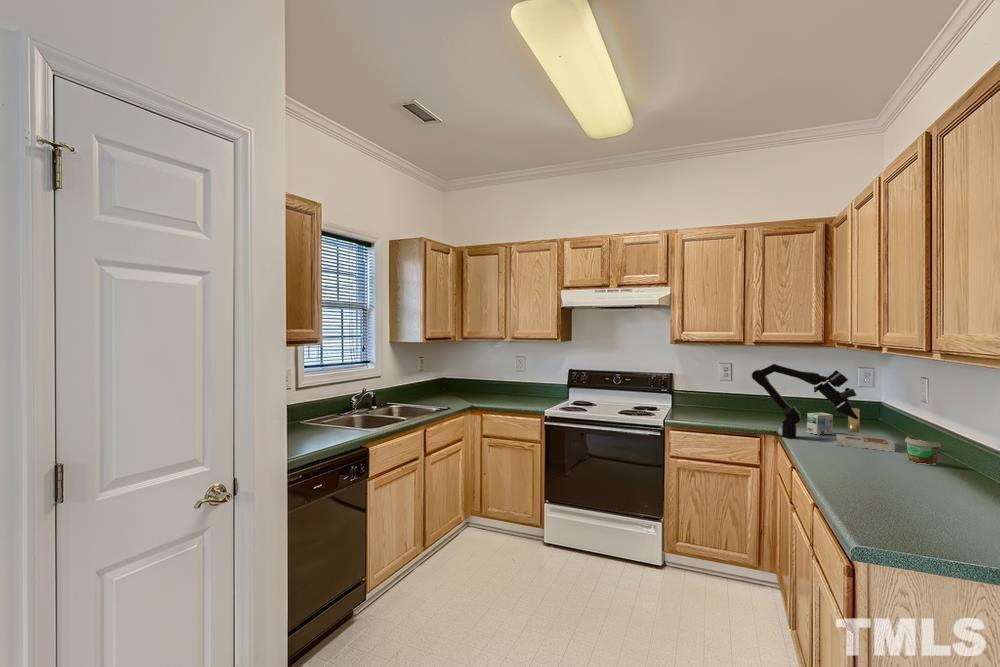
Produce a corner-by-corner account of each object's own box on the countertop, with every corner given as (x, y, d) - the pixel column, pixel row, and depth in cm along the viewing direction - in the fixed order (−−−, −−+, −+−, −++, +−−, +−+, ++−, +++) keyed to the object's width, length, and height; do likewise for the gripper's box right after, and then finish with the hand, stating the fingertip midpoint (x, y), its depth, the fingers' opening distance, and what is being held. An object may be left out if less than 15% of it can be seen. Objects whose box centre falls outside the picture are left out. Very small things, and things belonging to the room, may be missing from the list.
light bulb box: (817, 435, 262) (817, 415, 262) (806, 432, 268) (806, 412, 268) (833, 434, 265) (833, 414, 264) (821, 431, 271) (822, 412, 271)
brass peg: (855, 432, 239) (856, 409, 239) (845, 430, 243) (846, 408, 243) (861, 431, 241) (861, 409, 241) (851, 430, 245) (852, 407, 245)
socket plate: (836, 445, 240) (836, 438, 240) (836, 439, 252) (836, 433, 252) (894, 452, 228) (894, 444, 228) (891, 446, 240) (891, 439, 239)
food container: (897, 459, 214) (898, 436, 214) (906, 458, 217) (907, 435, 216) (930, 467, 203) (931, 443, 203) (940, 466, 205) (940, 442, 205)
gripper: (845, 384, 236) (873, 410, 230) (844, 381, 251) (870, 405, 246) (825, 399, 240) (852, 425, 234) (825, 395, 256) (850, 419, 250)
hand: (857, 418), depth 241 cm, fingers closed on brass peg, 4 cm apart
